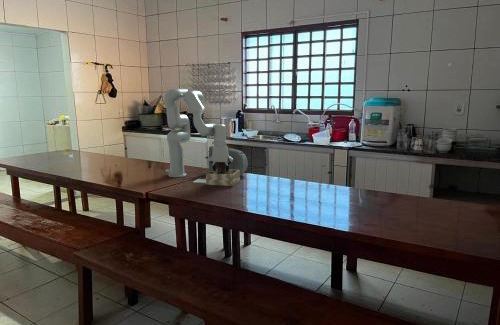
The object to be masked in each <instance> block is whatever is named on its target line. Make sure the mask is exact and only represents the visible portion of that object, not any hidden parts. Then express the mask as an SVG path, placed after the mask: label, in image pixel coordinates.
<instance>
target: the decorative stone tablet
mask: <svg viewBox="0 0 500 325" xmlns="http://www.w3.org/2000/svg"><path fill="white" fill-rule="evenodd" d="M213 146H214V145H210V146H209V147H208V158H210V157H211V156H212V150H213ZM228 153H229V156H230V157H231V158H233V161H232V162H231V163H230V165H229V169H230V170H240V176H241V175H243V174H244V173H245V172H246V171H247V168H248V165H249V162H248V157H247V156H246V154H245V153H244V152H243V151H242V150H239V149H236V148H230V147H228ZM207 160H208V159H207ZM211 160H212V159H211ZM207 162H208V163H207V164H208V166H207V167H208V171H210V172H213V165H212V164H211V163H210V161H209V160H208V161H207ZM228 162H230V159H229V160H228ZM218 163H219V162H216V163H215V164H216V169H218ZM225 164H226V163H225ZM225 169H226V166H225Z"/></svg>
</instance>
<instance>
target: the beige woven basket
mask: <svg viewBox="0 0 500 325" xmlns="http://www.w3.org/2000/svg"><path fill="white" fill-rule="evenodd" d="M217 170H218V169H216V171H214V170H213V171H212V172H213V173H205V179H206V183H205V185H207V186H209V185H210V186H229V187H235V185H237V183H238V184H239V182H240V181H241V175H240V170H230V169H229V170H228V172H226V169H225V174H217V172H218V171H217Z"/></svg>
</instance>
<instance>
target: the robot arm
mask: <svg viewBox="0 0 500 325" xmlns="http://www.w3.org/2000/svg"><path fill="white" fill-rule="evenodd" d="M203 101H204V94H203V93H202V92H201V91H199V90H197V89H196V90H194V89H190V88H169V89H168V90H167V91H166V92H165V94H164V105H165V110H166V117H167V118H166V120H167V126H168V127H169V128H170V129H175V130H171V131H169V132H168V133H167V134H166V141H167V144H168V151H169V152H168V154H169V167H170V168H169V169H168V168H167V169H165V170H164V171H165V173H168V177H169V178H182V177H183V178H184V177H187V172H185V160H184V149H183V147H182V144H186V143H189V141H190V139H191V126H190V119H189V117H188V116H187V114H184V113H180V107H179V105H178V103H177V102H185V104H186V106H187V107H188V108H189V110H190V112H191V114H192V115H193V117H192V121H193V125H194V128H195V129H196V131H197V133H198V134H199V135H200V136H201V137H209V136H210V137H211V136H213V141H212V142H211V143H212V146H213V150H212V156H211V157H210V158H208V159H207V160H209V161H210V163H211V164H212V165H213V170H214V171H216V164H215V163H216V162H225V163H226V172H228V170H229V165H230V163H231V162H232V161H233V158H231V157H230V156H229V153H228V148H229V147H228V145H227V128H226V125H225V124H220V123H219V124H217V123H215V122H214V123H212V122H211V123H205V122H204V121H203V119H202V115H203V114H204V112H205V111H206V109H205V106H204V105H203V104H202V103H203ZM176 129H177V130H176ZM211 159H212V160H211ZM229 159H230V162H228V160H229Z"/></svg>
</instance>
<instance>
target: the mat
mask: <svg viewBox="0 0 500 325" xmlns="http://www.w3.org/2000/svg"><path fill="white" fill-rule="evenodd" d="M192 183H194V184H206V178H196V179H195V180H193V181H192Z"/></svg>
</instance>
